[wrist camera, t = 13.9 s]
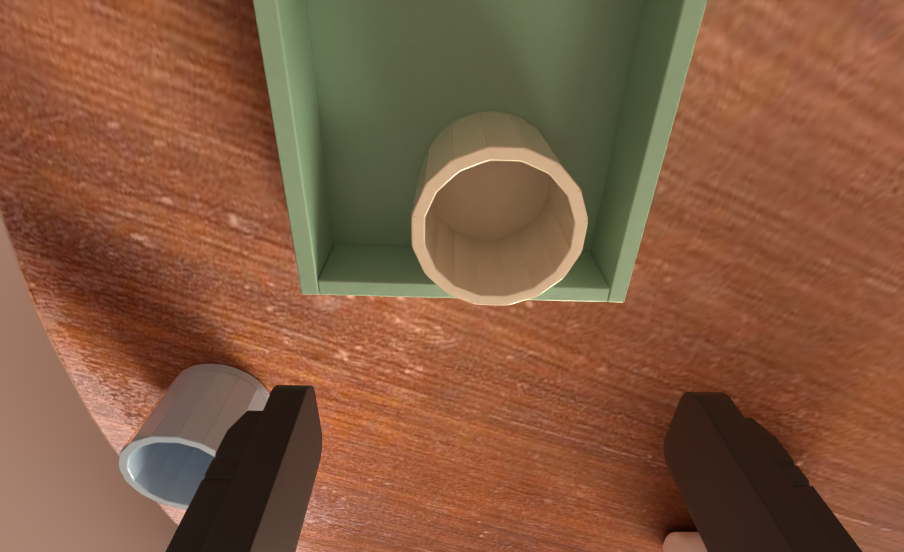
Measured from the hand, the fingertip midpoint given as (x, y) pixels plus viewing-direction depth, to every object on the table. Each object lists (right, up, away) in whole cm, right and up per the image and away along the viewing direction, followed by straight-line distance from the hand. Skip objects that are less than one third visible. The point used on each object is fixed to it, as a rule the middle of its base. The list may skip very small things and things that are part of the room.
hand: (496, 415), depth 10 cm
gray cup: (-16, -5, +20) cm, 26 cm away
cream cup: (+1, +8, +11) cm, 14 cm away
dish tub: (0, +11, +10) cm, 15 cm away
